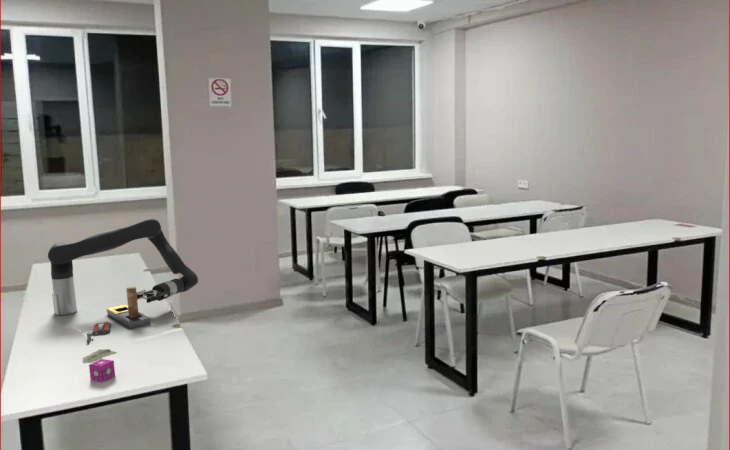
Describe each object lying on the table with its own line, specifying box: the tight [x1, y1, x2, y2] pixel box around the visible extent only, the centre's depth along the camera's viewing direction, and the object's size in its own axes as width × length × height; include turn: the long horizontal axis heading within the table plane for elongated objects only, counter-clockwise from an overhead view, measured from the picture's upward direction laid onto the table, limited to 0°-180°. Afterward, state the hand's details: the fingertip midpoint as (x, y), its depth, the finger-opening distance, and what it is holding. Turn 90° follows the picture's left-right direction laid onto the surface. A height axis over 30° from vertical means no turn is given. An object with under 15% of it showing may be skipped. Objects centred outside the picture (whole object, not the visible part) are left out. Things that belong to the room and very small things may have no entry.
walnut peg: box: [125, 286, 139, 319], centre depth 269 cm, size 4×4×16 cm
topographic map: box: [81, 348, 118, 364], centre depth 232 cm, size 14×14×2 cm
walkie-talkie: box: [86, 321, 112, 343], centre depth 258 cm, size 9×4×20 cm
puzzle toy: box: [88, 358, 116, 383], centre depth 214 cm, size 6×6×6 cm
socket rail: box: [105, 304, 154, 331], centre depth 275 cm, size 11×28×4 cm, turn 42°
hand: (139, 299), depth 272 cm, fingers open, 8 cm apart
